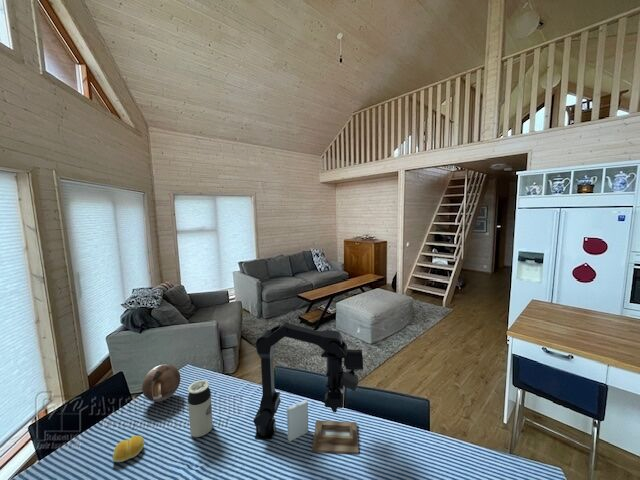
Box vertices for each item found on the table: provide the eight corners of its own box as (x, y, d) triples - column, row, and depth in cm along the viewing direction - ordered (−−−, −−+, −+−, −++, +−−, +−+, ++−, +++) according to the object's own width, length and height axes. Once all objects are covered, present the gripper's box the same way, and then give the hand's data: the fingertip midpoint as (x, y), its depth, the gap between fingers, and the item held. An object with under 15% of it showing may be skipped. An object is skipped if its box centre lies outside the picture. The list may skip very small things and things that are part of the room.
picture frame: (312, 452, 91) (312, 444, 91) (316, 422, 104) (315, 415, 104) (358, 454, 90) (358, 446, 90) (356, 424, 103) (356, 417, 102)
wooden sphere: (159, 386, 129) (156, 357, 127) (188, 387, 127) (186, 358, 126) (135, 408, 114) (132, 376, 112) (167, 410, 112) (164, 377, 111)
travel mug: (185, 434, 100) (182, 390, 98) (202, 419, 107) (199, 377, 106) (201, 440, 97) (198, 395, 95) (217, 424, 104) (214, 382, 103)
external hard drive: (308, 432, 100) (308, 401, 98) (289, 442, 96) (288, 410, 94) (306, 429, 101) (306, 399, 100) (287, 438, 97) (286, 407, 96)
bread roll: (144, 453, 91) (142, 443, 91) (112, 467, 87) (110, 457, 86) (145, 436, 98) (144, 426, 98) (115, 448, 94) (114, 438, 93)
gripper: (358, 385, 84) (358, 429, 86) (355, 354, 103) (355, 391, 104) (324, 383, 85) (324, 427, 87) (327, 353, 104) (328, 390, 105)
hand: (334, 407), depth 96 cm, fingers open, 4 cm apart
